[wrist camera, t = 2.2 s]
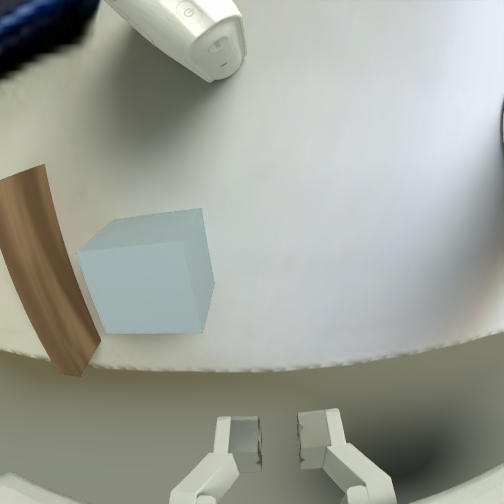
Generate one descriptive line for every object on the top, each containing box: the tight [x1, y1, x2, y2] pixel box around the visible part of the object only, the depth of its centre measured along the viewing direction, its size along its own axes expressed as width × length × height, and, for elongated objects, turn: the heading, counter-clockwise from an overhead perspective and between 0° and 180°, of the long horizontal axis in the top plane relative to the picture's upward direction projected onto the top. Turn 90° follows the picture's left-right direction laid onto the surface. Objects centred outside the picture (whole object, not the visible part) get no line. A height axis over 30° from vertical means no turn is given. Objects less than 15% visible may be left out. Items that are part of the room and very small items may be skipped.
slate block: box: [76, 208, 215, 334], centre depth 23 cm, size 8×7×7 cm
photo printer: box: [104, 0, 247, 83], centre depth 13 cm, size 10×4×12 cm, turn 40°
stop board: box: [0, 164, 101, 377], centre depth 24 cm, size 3×20×6 cm, turn 6°
